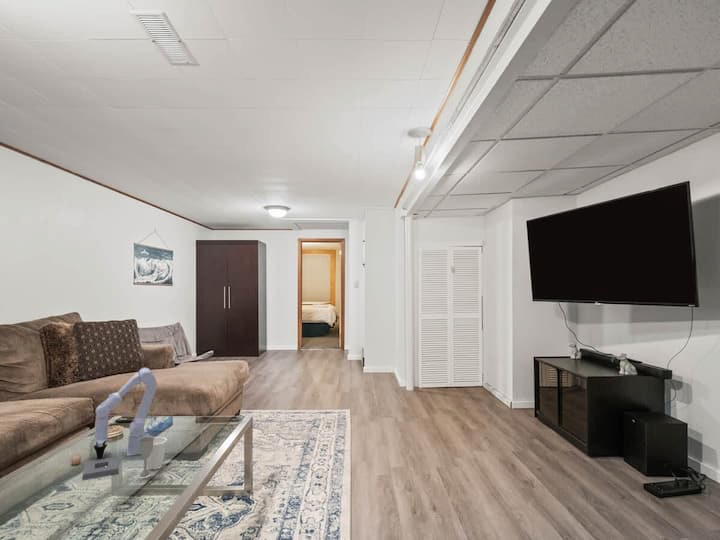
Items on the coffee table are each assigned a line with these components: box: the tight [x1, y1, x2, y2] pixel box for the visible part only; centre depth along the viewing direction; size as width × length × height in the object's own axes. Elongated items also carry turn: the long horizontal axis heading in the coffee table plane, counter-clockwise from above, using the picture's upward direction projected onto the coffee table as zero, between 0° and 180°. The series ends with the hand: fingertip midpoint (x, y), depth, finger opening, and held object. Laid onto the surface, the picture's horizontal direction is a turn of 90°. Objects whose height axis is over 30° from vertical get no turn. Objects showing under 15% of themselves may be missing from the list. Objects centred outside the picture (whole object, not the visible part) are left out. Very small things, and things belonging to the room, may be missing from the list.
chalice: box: [138, 435, 155, 477], centre depth 193 cm, size 7×7×18 cm
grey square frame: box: [82, 456, 119, 480], centre depth 197 cm, size 14×14×2 cm
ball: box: [70, 455, 82, 466], centre depth 202 cm, size 4×4×4 cm
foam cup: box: [146, 436, 168, 470], centre depth 203 cm, size 10×9×13 cm
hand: (100, 455), depth 209 cm, fingers open, 7 cm apart
